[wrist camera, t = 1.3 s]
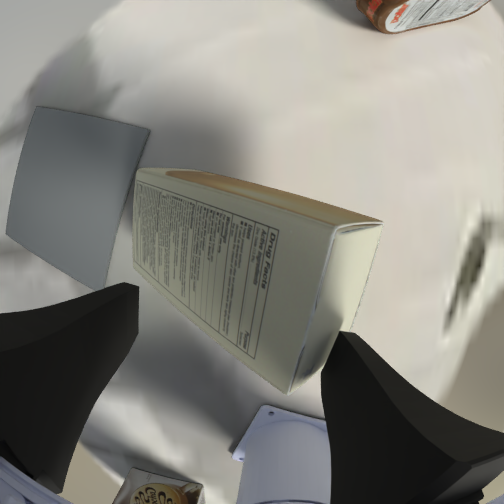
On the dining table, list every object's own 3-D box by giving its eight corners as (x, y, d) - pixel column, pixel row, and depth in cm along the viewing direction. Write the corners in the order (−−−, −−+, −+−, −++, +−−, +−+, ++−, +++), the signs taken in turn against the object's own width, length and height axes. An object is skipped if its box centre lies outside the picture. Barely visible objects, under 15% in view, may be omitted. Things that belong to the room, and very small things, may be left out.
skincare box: (187, 257, 20) (343, 356, 12) (130, 268, 17) (284, 405, 9) (198, 163, 17) (391, 220, 10) (135, 162, 14) (341, 229, 7)
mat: (150, 130, 18) (148, 129, 18) (103, 293, 21) (101, 294, 20) (38, 106, 19) (36, 106, 18) (7, 233, 21) (5, 234, 21)
